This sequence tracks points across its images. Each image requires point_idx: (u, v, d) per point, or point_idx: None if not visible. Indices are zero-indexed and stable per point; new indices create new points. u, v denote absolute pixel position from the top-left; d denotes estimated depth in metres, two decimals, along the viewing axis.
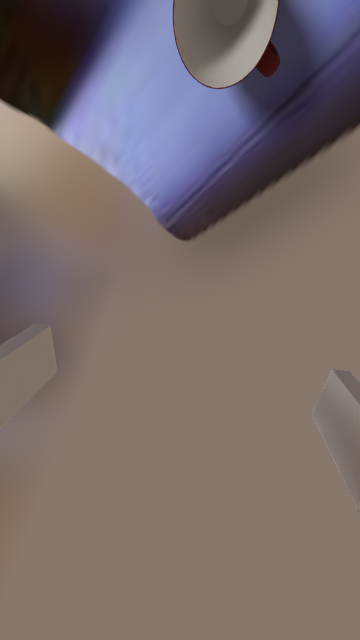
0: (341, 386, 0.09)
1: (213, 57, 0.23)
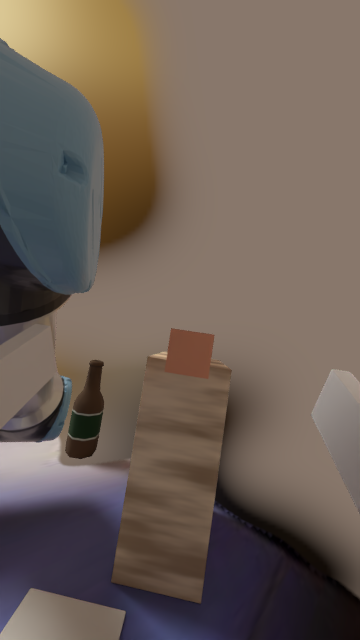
0: (341, 386, 0.09)
1: None
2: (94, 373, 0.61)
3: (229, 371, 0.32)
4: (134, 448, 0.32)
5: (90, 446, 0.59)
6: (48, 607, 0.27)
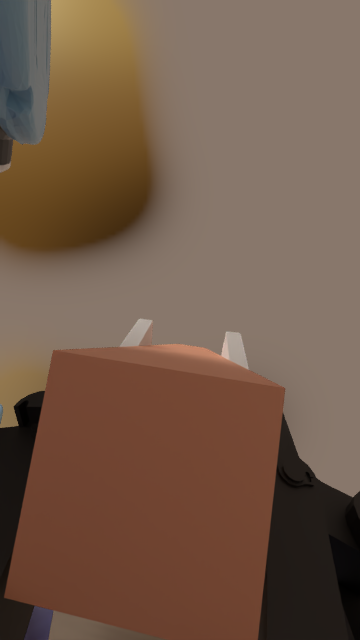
0: (226, 342, 0.12)
1: None
2: None
3: None
4: None
5: None
6: None
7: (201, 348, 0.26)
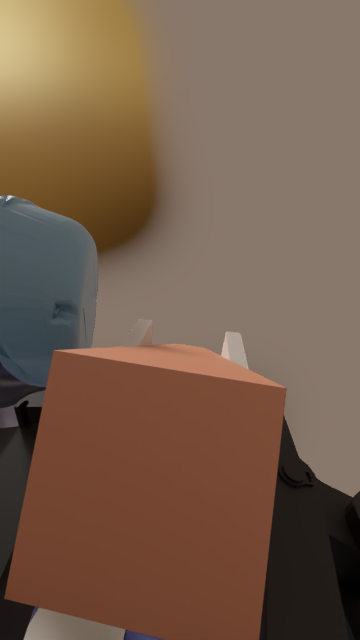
0: (226, 342, 0.12)
1: None
2: None
3: None
4: None
5: None
6: (55, 626, 0.30)
7: (201, 348, 0.26)
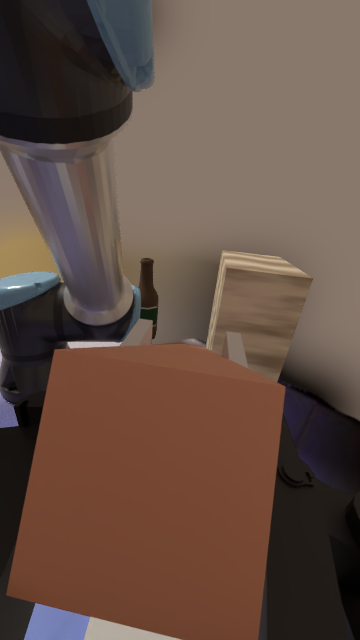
0: (226, 342, 0.12)
1: None
2: (146, 272, 0.64)
3: (310, 279, 0.32)
4: (214, 344, 0.39)
5: (152, 331, 0.71)
6: None
7: None
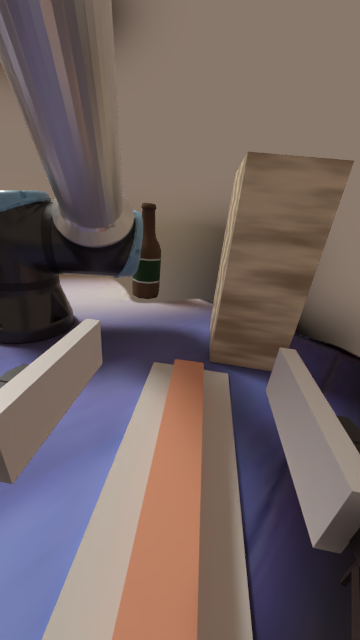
0: (284, 361, 0.10)
1: None
2: (148, 217, 0.58)
3: (350, 163, 0.27)
4: (229, 260, 0.33)
5: (155, 288, 0.65)
6: (172, 370, 0.36)
7: (195, 403, 0.25)
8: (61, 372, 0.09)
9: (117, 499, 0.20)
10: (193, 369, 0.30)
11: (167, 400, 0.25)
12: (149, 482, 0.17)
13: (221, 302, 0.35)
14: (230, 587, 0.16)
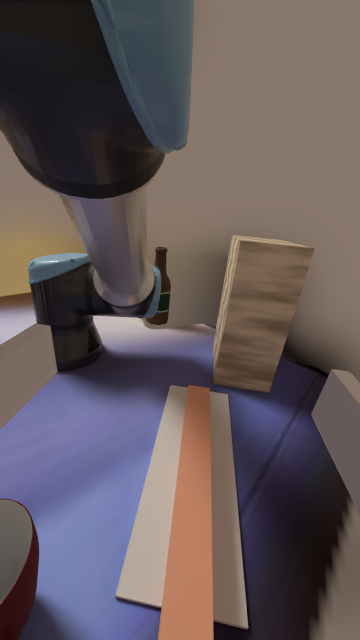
0: (341, 386, 0.09)
1: None
2: (161, 259, 0.69)
3: (312, 249, 0.38)
4: (228, 311, 0.44)
5: (165, 316, 0.76)
6: (184, 391, 0.47)
7: (205, 420, 0.36)
8: None
9: (156, 484, 0.30)
10: (202, 393, 0.41)
11: (185, 418, 0.36)
12: (179, 472, 0.28)
13: (222, 340, 0.47)
14: (230, 534, 0.26)
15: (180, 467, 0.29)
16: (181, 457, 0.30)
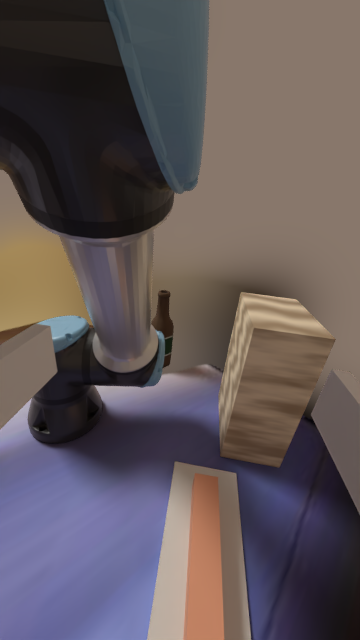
0: (341, 386, 0.09)
1: None
2: (163, 304, 0.66)
3: (333, 340, 0.35)
4: (238, 392, 0.41)
5: (168, 359, 0.73)
6: (190, 471, 0.44)
7: (214, 532, 0.33)
8: None
9: (162, 624, 0.28)
10: (210, 486, 0.38)
11: (193, 529, 0.33)
12: (188, 624, 0.25)
13: (231, 418, 0.43)
14: None
15: (189, 616, 0.26)
16: (190, 598, 0.27)
